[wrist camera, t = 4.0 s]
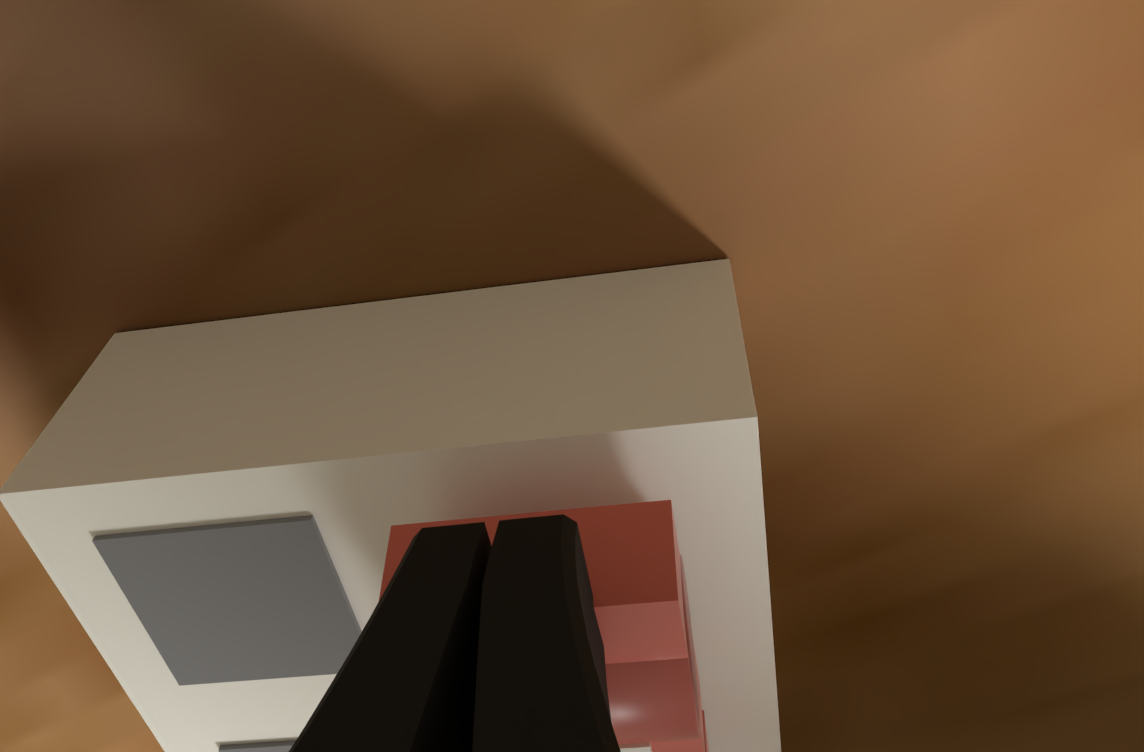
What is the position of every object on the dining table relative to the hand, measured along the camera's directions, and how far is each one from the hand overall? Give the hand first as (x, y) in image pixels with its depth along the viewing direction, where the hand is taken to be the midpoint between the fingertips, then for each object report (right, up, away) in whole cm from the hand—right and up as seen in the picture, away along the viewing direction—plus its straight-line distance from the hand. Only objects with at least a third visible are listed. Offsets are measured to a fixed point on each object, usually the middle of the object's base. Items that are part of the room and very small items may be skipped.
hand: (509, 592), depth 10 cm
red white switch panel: (-1, -2, +8) cm, 8 cm away
